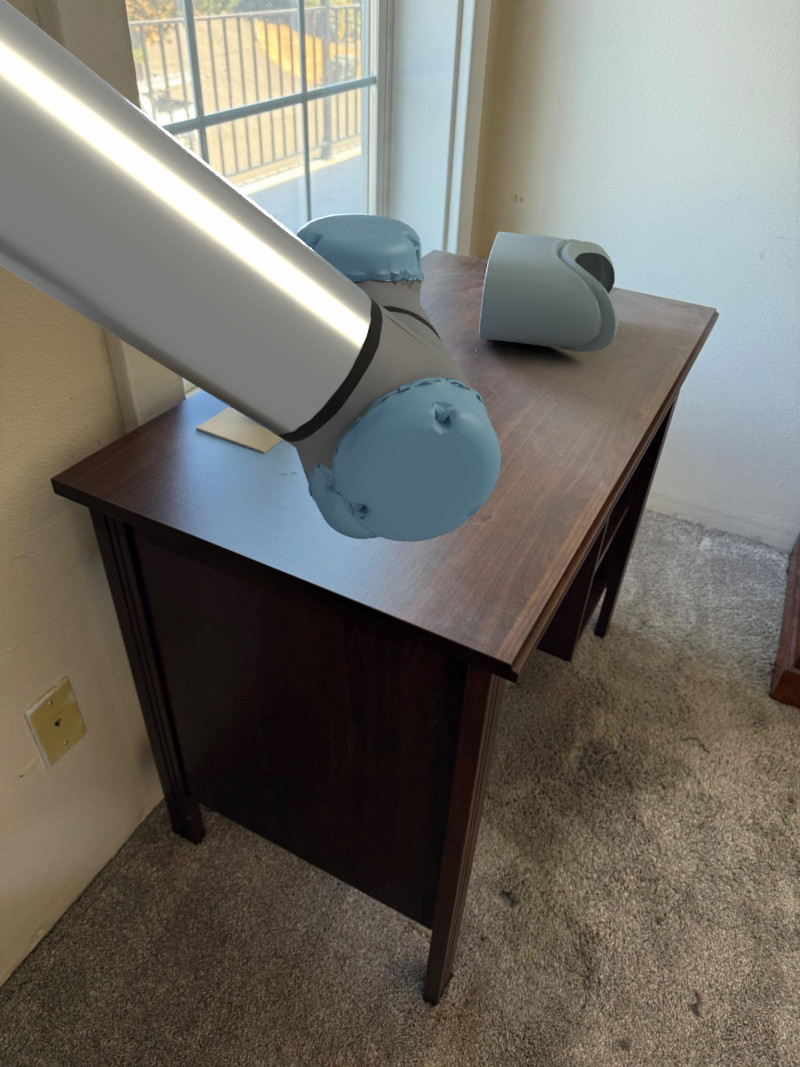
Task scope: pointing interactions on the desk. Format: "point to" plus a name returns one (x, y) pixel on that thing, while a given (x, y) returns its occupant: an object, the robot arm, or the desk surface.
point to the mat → (240, 430)
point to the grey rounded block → (548, 293)
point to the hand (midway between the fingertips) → (279, 296)
